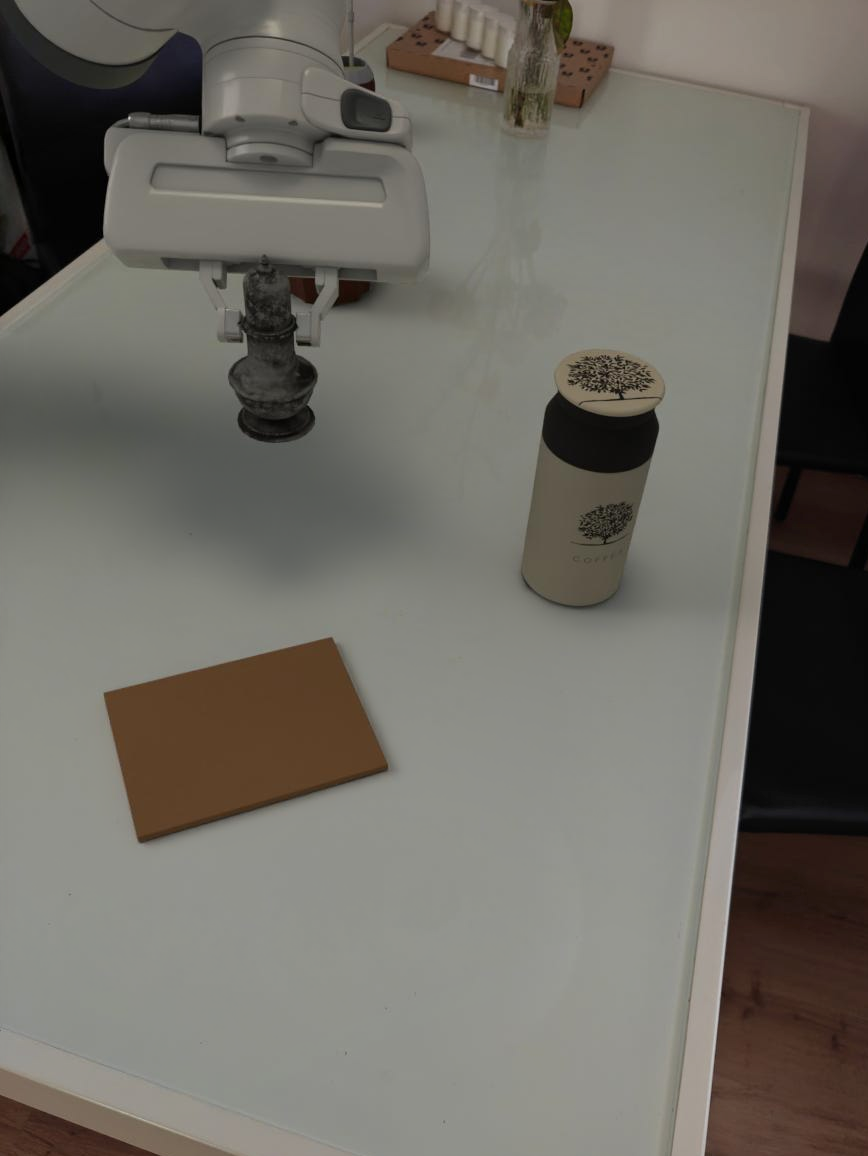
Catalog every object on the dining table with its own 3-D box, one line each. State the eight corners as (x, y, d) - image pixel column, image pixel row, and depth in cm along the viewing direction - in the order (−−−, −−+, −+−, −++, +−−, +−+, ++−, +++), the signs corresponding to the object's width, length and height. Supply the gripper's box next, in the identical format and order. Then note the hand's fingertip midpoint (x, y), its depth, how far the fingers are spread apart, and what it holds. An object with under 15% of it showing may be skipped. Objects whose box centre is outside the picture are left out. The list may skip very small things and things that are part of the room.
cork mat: (138, 843, 62) (137, 837, 62) (104, 698, 69) (103, 692, 69) (388, 769, 67) (388, 764, 67) (332, 641, 75) (332, 636, 74)
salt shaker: (216, 412, 71) (195, 246, 62) (289, 386, 73) (279, 223, 65) (262, 456, 68) (247, 288, 59) (336, 427, 71) (332, 262, 62)
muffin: (401, 278, 111) (404, 185, 104) (350, 323, 104) (349, 227, 96) (306, 248, 114) (302, 155, 106) (250, 290, 106) (242, 194, 99)
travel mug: (516, 538, 84) (544, 343, 71) (611, 540, 85) (657, 347, 71) (525, 608, 78) (558, 411, 65) (627, 609, 79) (680, 415, 66)
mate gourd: (343, 143, 133) (341, 13, 122) (307, 121, 137) (302, -6, 126) (388, 131, 137) (390, 4, 126) (351, 110, 141) (350, -15, 130)
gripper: (90, 85, 61) (87, 321, 61) (435, 110, 63) (429, 338, 63) (117, 132, 67) (115, 346, 68) (430, 153, 69) (425, 361, 70)
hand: (269, 343), depth 66 cm, fingers closed on salt shaker, 3 cm apart
